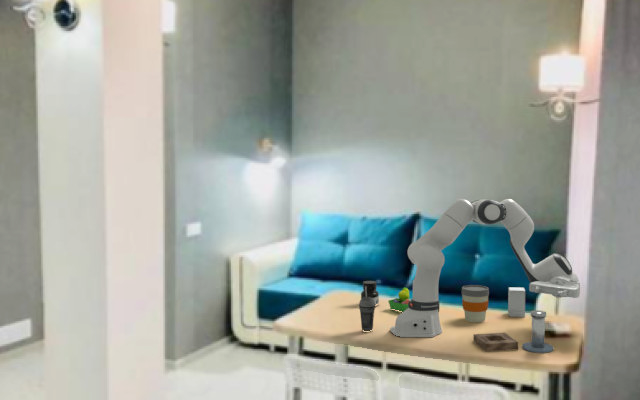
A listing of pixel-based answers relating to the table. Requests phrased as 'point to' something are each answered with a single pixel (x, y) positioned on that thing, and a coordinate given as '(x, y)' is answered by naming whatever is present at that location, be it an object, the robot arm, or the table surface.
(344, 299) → the table surface
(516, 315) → the supplement box
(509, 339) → the walnut socket block
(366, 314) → the beverage cup
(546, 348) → the slate rubber mat
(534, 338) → the steel plug
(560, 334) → the table surface
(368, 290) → the ink bottle
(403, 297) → the fruit basket
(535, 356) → the table surface
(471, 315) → the reusable coffee cup
